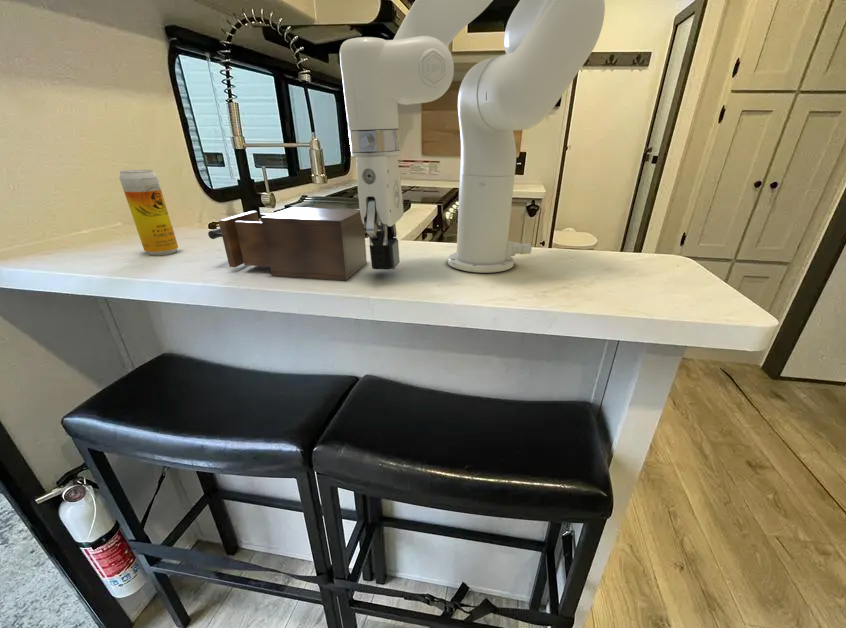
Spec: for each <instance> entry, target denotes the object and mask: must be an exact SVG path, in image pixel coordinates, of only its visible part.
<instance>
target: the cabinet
mask: <svg viewBox="0 0 846 628" xmlns="http://www.w3.org/2000/svg"><path fill="white" fill-rule="evenodd" d="M269 214H270V215H267V216H264V217H260V222H261V221H262V226H263V231H264V237H265V242H266V247H267V252H268V258H269V263H270V267H269V268H270V272H271V276H272V277H283V278H284V277H285V278H297V279H298V278H301V279H313V280H314V279H315V280H330V281H331V280H332V281H346V282H347V281H348V280H349V279H350V278H351V277H353V276H354V275H355V274H356V273H358V271H360V270H361V269H362V268H363V267H364V266H366V264H367V263H368V261H367V249H366V248H367V246H366V234H365V233H366V230H365V225H364V224H363V223H362V220H361V214H360V209H353V208H352V209H351V208H350V209H349V208H326V207H301V206H292V207H288V208H285V209H283V210H280V211H276V212H273V213H269Z"/></svg>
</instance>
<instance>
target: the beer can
mask: <svg viewBox="0 0 846 628" xmlns="http://www.w3.org/2000/svg"><path fill="white" fill-rule="evenodd" d="M158 177H159V176H157V174H156V173H155V172H154V170H153V169H124V170H123V169H122V170H120V171H119V181H120V183H121V186H122V190H123V192H124V196H125V199H126V202H127V204H128V207H129V210H130V214H131V216H132V219H133V222H134V224H135V228H136V230H137V231H136V232H137V234H138V236H139V239H140V241H141V242H140V243H141V245H142V248H143V250H144V252H146V253H147V254H148V255H149V256H169V255H172V254H175V253H177V250H178V248H179V244H178V240H177V238H176V237H177V236H176V234H175V231H174V228H173V224H172V221H171V218H170V215H169V210H168V208H167V204H166V201H165V198H164V194H163V190H162V188H161V184H160V181H159V178H158Z"/></svg>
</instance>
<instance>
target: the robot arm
mask: <svg viewBox="0 0 846 628" xmlns="http://www.w3.org/2000/svg"><path fill="white" fill-rule="evenodd" d="M493 1H494V0H415V1H414V2H413V3H412V5H411V7H410V8H409V10H408V12H407V13H406V15H405V17H404V18H403V20H402V22H401V24H400V26H399V27H398V29H397V32H396V34H395V35H394V37H393V39H384V38H380V37H375V36H374V37H373V36H363V37H362V36H360V37H352V38H348V39H346V40H344V41H343V42H342V44H340V48H339V63H340V71H341V79H342V80H341V81H342V88H343V96H344V97H343V98H344V105H345V113H346V121H347V130H348V138H349V139H348V140H349V145H350V146H349V147H350V156H351V157H354V158H355V163H356V164H355V165H356V182H357V183H356V184H357V195H358V196H357V197H358V207H359V210H360V214H361V220H362V223H363V224H364V227H365V233H366V234H367V235H368V238H369V240H368V241H369V245H370V246H371V255H370V257H371V256H372V264H371V266H372V265H373V268H374V269H373V270H392V269H391V267H392V264H391V252H390V245H388V239H392V240H398V237H397V235H398V234H397V226H396V223H398V222H399V221H400V220H401V219H402V218H403V217H404V201H403V191H402V190H403V189H402V182H401V173H400V166H399V161H398V155H399V156H400V155H401V139H400V129H399V128H400V126H399V108H398V107H399V106H398V104H399V105H405V106H408V105H415V104H416V105H417V104H425V103H430V102H434V101H436V100H438V99H440V98H441V97H443V95H444V94H446V92H447V91H448V90H449V88H450V87H451V85H452V83H453V78H454V73H455V65H454V64H455V63H454V60H453V55H452V53H451V50H449V48H448V47H449V45H451V43H452V42H453V40H455V38H456V37H457V36H458V35H459V34H460V32H461V31H462V30H463V29H465V27H467V26H468V25H469V24H470V23H472V22H473V21H474V20H475V19H476V18H477V17H479V16H480V15H481V14H482V13H483V12H484V11H485V10H486V9H487V8H488V7H489V6H490V4H491V3H492V2H493ZM605 13H606V4H605V0H519V1H518V3H517V4H516V6H515V7H514V8H513V10H512V12H511V14H510V16H509V18H508V20H507V23H506V26H505V30H504V35H503V48H504V51H505V54H500V55H497V56H496V55H495V56H493V57H489V58H486V59H483V60H481V61H479V62H477V63H476V64H474V65H473V66H472V67H471V68H470V69H469V70H468V71H467V72H466V74H465V75H464V77H463V79H462V80H461V83H460V86H459V89H458V95H457V115H458V123H459V136H460V137H459V138H460V162H459V163H460V164H459V165H460V166H459V184H458V206H457V209H458V210H457V232H456V252H453V253H452V254H450V255H449V256H448V257H447V263H448V265H449V266H451V267H452V268H454V269H457V270H459V271H463V272H464V271H465V272H470V273H480V274H481V273H486V274H487V273H501V272H504V271H508V270H511V269H512V268H513V267H514V264H515V263H514V262H515V259H514V258H513V257H515V256H516V255H530V254H531V253H532V248H533V247H532V244H531V243H520V242H513V241H512V240H510V239H509V233H510V223H511V215H512V205H513V204H512V203H513V195H514V194H513V193H514V186H515V185H514V183H515V175H516V167H517V147H516V139H515V135H514V131H524V130H529V129H531V128H534V127H535V126H538V125H539V124H540V123H541V122H543V121H544V119H546V117H547V116H548V115H549V114H550V113H551V111H553V109H554V108H555V106H556V105H557V103H558V102H559V100H560V99H561V98H562V97H563V95H564V94H565V92H566V91H567V89H568V88H569V86H570V85H571V84H572V82H573V81H574V79H575V77H576V76H577V75H578V73H579V72H580V70H581V69H582V67H583V66H584V65H585V63H586V62H587V60H588V58H589V57H590V55H591V54H592V52H593V51H594V49H595V47H596V46H597V43H598V40H599V38H600V35H601V33H602V29H603V26H604V20H605ZM370 246H369V247H370Z"/></svg>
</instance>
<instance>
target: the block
mask: <svg viewBox="0 0 846 628" xmlns="http://www.w3.org/2000/svg"><path fill="white" fill-rule="evenodd" d="M388 245H390V252H391V264H392V267H391V269H390V270H395V269H396V268H397V267H398V266H399V264H400V262H401V260H400V248H399V246H400V245H399V239H397V240H392V239H388ZM369 253H370V262H371V263H370V264H371V269H372V270H375V269H374V268H373V265H372V256H371V246H370V244H369Z"/></svg>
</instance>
